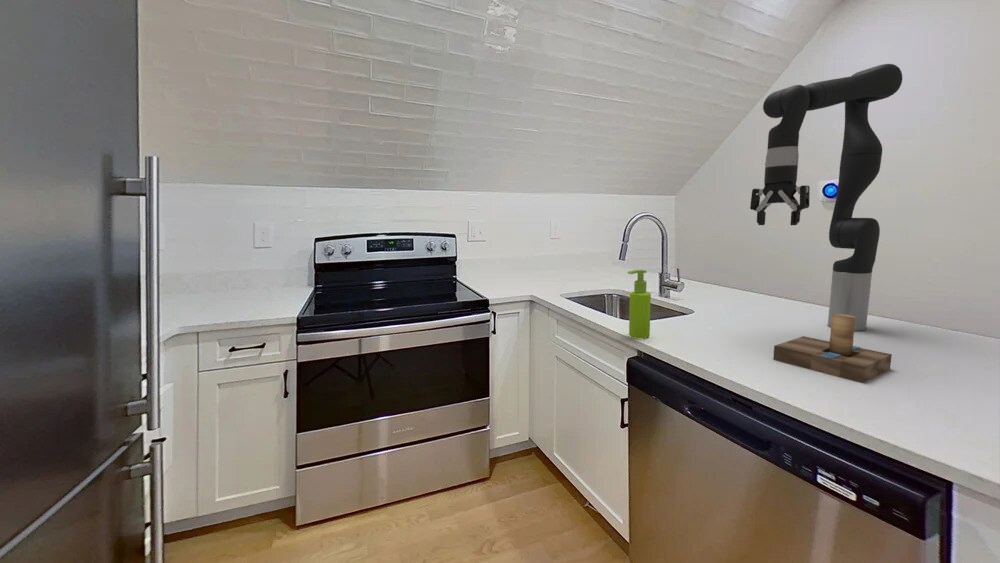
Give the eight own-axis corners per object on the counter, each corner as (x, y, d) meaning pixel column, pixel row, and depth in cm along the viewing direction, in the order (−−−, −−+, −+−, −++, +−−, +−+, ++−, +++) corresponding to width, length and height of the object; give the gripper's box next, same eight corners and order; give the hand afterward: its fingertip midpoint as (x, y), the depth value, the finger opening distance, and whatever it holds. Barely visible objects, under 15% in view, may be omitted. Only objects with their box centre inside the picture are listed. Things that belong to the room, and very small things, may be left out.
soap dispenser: (622, 334, 130) (623, 269, 127) (641, 332, 132) (643, 268, 129) (633, 340, 125) (634, 272, 122) (653, 337, 127) (655, 270, 124)
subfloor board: (802, 349, 113) (803, 335, 112) (890, 369, 97) (891, 353, 97) (773, 359, 106) (774, 344, 105) (862, 382, 90) (864, 365, 90)
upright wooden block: (832, 362, 103) (837, 313, 101) (853, 367, 99) (858, 316, 97) (824, 365, 101) (828, 315, 99) (845, 370, 97) (850, 319, 95)
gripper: (817, 162, 113) (812, 224, 116) (762, 168, 125) (758, 224, 128) (803, 161, 109) (798, 225, 112) (747, 167, 121) (744, 225, 124)
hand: (777, 225), depth 120 cm, fingers open, 8 cm apart
